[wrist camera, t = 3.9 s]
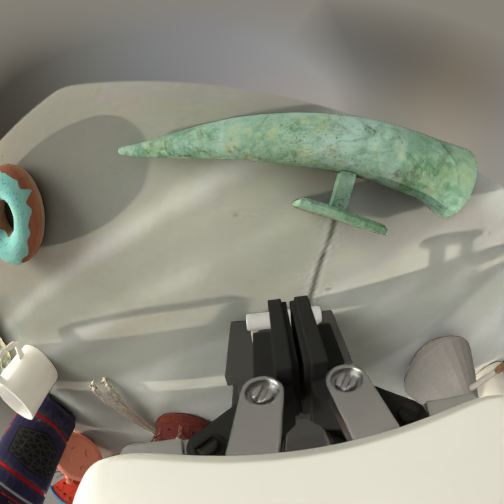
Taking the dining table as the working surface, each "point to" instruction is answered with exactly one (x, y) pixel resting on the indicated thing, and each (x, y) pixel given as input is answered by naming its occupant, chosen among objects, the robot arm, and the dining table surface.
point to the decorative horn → (333, 157)
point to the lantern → (178, 426)
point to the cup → (26, 379)
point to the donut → (20, 215)
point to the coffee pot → (444, 371)
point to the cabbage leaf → (4, 357)
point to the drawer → (242, 344)
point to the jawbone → (128, 412)
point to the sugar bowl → (78, 457)
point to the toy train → (65, 491)
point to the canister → (33, 453)
